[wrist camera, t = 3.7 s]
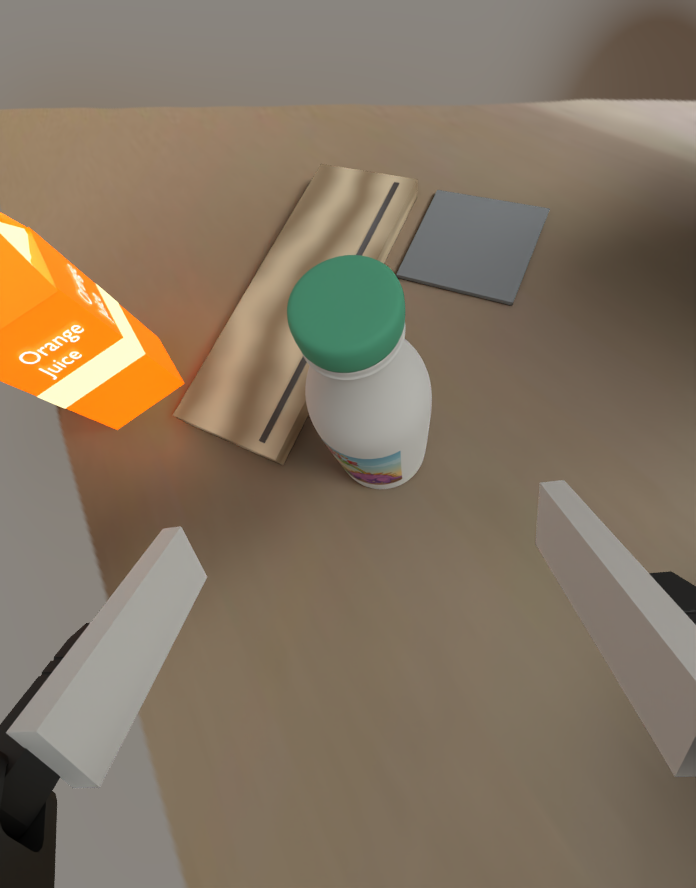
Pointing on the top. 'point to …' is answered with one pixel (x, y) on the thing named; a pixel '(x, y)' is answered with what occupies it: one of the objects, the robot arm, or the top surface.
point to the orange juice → (73, 336)
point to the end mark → (474, 245)
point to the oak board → (265, 311)
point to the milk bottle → (362, 369)
